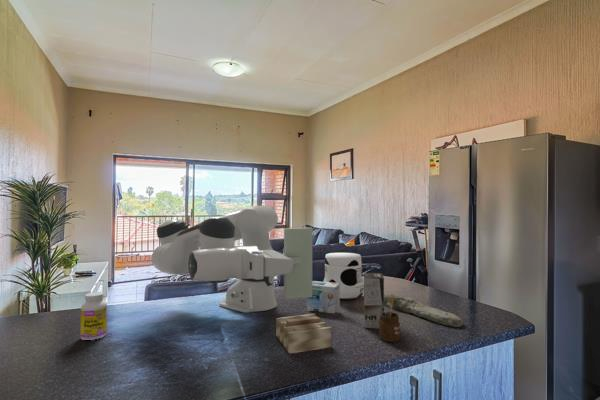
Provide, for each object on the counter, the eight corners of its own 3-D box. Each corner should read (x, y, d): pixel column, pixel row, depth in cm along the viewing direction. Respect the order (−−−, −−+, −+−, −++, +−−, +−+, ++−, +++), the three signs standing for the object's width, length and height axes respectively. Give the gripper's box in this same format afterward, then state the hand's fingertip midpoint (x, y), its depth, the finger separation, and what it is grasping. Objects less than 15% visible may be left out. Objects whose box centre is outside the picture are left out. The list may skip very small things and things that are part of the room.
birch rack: (289, 359, 86) (289, 333, 86) (275, 340, 98) (275, 317, 98) (332, 352, 90) (332, 328, 90) (313, 334, 102) (313, 313, 102)
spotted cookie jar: (319, 292, 151) (319, 252, 151) (357, 291, 153) (357, 251, 153) (327, 303, 133) (327, 258, 134) (369, 302, 135) (369, 257, 136)
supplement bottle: (79, 343, 96) (79, 298, 96) (81, 335, 101) (82, 292, 102) (106, 339, 99) (106, 295, 99) (107, 331, 105) (107, 290, 105)
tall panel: (286, 299, 95) (286, 228, 95) (284, 297, 97) (284, 228, 97) (312, 297, 98) (312, 228, 98) (309, 295, 99) (309, 227, 100)
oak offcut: (296, 349, 88) (296, 330, 88) (294, 346, 90) (294, 327, 90) (321, 345, 91) (321, 327, 91) (318, 342, 92) (318, 324, 92)
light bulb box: (306, 314, 121) (306, 284, 121) (312, 308, 127) (313, 280, 128) (335, 318, 117) (335, 287, 117) (340, 312, 123) (340, 282, 123)
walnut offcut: (288, 344, 91) (288, 322, 92) (286, 341, 93) (286, 319, 93) (319, 339, 94) (318, 318, 95) (316, 337, 96) (316, 316, 96)
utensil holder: (378, 340, 97) (378, 299, 98) (380, 333, 103) (380, 294, 104) (399, 343, 95) (399, 301, 96) (400, 335, 101) (400, 295, 101)
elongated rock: (450, 335, 106) (468, 330, 111) (451, 318, 106) (470, 314, 111) (371, 301, 135) (389, 299, 141) (372, 288, 135) (390, 286, 141)
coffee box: (384, 329, 106) (384, 278, 106) (363, 328, 108) (363, 277, 108) (383, 319, 115) (383, 272, 115) (364, 318, 117) (364, 271, 117)
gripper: (243, 266, 102) (287, 264, 107) (258, 281, 83) (310, 277, 88) (243, 246, 102) (287, 244, 107) (258, 255, 83) (310, 253, 88)
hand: (297, 259), depth 97 cm, fingers closed on tall panel, 2 cm apart
